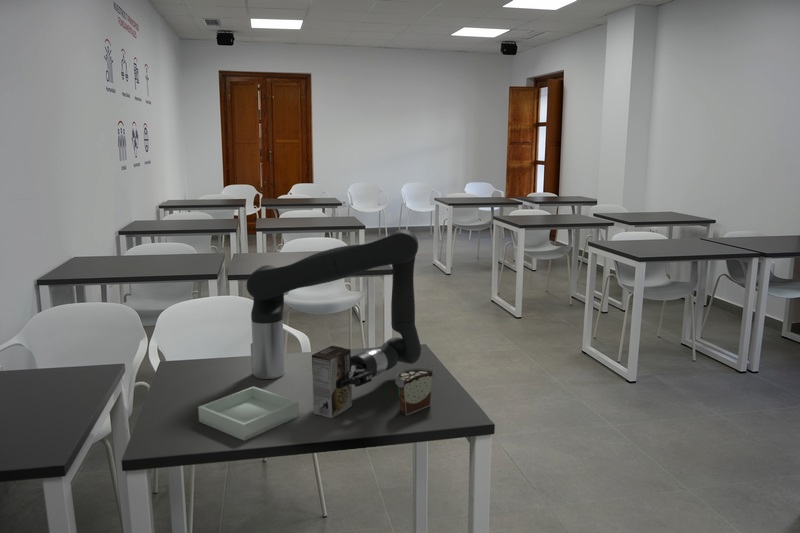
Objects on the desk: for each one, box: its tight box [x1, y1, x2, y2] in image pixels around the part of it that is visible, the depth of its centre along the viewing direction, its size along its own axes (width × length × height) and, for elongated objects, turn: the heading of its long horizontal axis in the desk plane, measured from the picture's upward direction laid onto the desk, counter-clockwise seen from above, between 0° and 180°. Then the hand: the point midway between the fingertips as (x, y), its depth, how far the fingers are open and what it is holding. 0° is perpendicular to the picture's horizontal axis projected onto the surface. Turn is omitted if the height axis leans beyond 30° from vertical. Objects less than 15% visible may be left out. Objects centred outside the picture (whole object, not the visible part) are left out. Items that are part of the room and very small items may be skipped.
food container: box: [395, 366, 436, 416], centre depth 170 cm, size 12×6×10 cm, turn 134°
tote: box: [197, 386, 300, 442], centre depth 163 cm, size 18×18×4 cm
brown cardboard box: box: [311, 345, 353, 419], centre depth 167 cm, size 9×6×16 cm
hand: (326, 381), depth 166 cm, fingers closed on brown cardboard box, 7 cm apart
